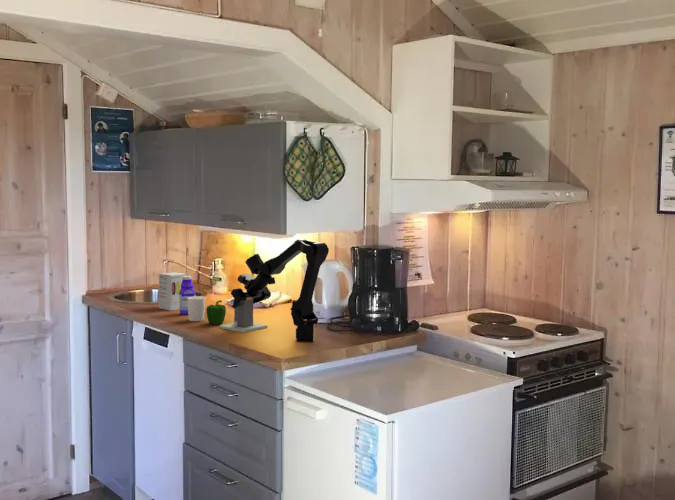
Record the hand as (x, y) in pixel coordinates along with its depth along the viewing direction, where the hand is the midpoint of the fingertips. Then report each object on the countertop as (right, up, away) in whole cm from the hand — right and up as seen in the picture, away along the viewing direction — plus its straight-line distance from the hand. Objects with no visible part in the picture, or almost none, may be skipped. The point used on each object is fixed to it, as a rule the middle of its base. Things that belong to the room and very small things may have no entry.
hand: (241, 306), depth 311 cm
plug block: (+1, -8, 0) cm, 8 cm away
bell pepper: (-12, -8, +8) cm, 16 cm away
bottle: (-29, -6, +29) cm, 41 cm away
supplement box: (-38, -4, +42) cm, 57 cm away
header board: (+1, -9, 0) cm, 9 cm away
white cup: (-22, -7, +15) cm, 27 cm away
